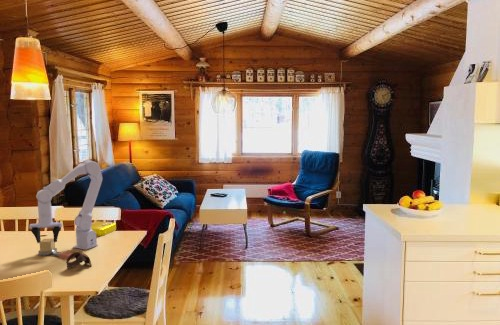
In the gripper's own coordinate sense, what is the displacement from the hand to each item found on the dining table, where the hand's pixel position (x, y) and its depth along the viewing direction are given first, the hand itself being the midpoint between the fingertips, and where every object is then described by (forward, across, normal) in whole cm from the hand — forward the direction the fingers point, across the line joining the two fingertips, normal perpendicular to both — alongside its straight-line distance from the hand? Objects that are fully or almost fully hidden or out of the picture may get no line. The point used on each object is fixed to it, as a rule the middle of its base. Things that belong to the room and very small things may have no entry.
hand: (47, 242), depth 195 cm
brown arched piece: (+6, -21, +21) cm, 30 cm away
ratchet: (+6, -6, +4) cm, 9 cm away
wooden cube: (+4, 0, 0) cm, 4 cm away
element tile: (+6, -15, -35) cm, 39 cm away
